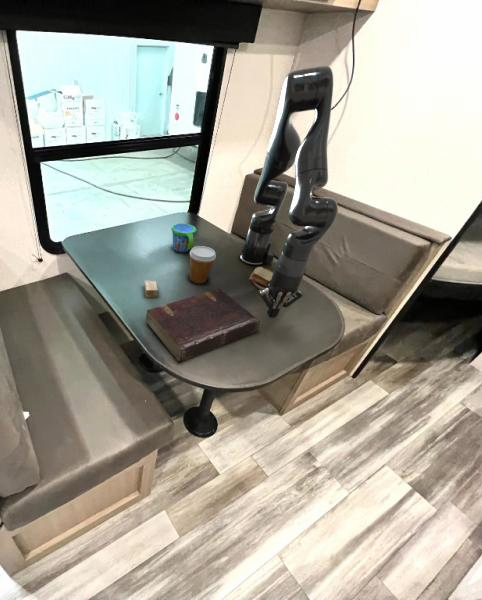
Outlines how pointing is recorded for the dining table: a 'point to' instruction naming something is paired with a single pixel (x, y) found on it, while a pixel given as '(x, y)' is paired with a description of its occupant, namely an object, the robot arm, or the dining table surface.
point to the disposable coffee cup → (201, 263)
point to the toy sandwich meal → (261, 277)
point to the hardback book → (200, 323)
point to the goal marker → (150, 289)
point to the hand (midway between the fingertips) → (271, 316)
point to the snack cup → (183, 237)
